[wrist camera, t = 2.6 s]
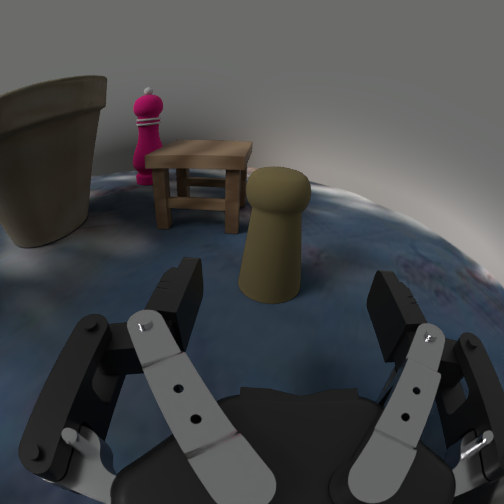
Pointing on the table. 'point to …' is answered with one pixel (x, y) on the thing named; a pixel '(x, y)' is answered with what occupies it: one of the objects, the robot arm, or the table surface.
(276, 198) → the cork
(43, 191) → the plant pot
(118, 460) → the table surface
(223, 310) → the table surface
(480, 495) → the milk frother
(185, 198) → the footstool
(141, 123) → the pepper mill
